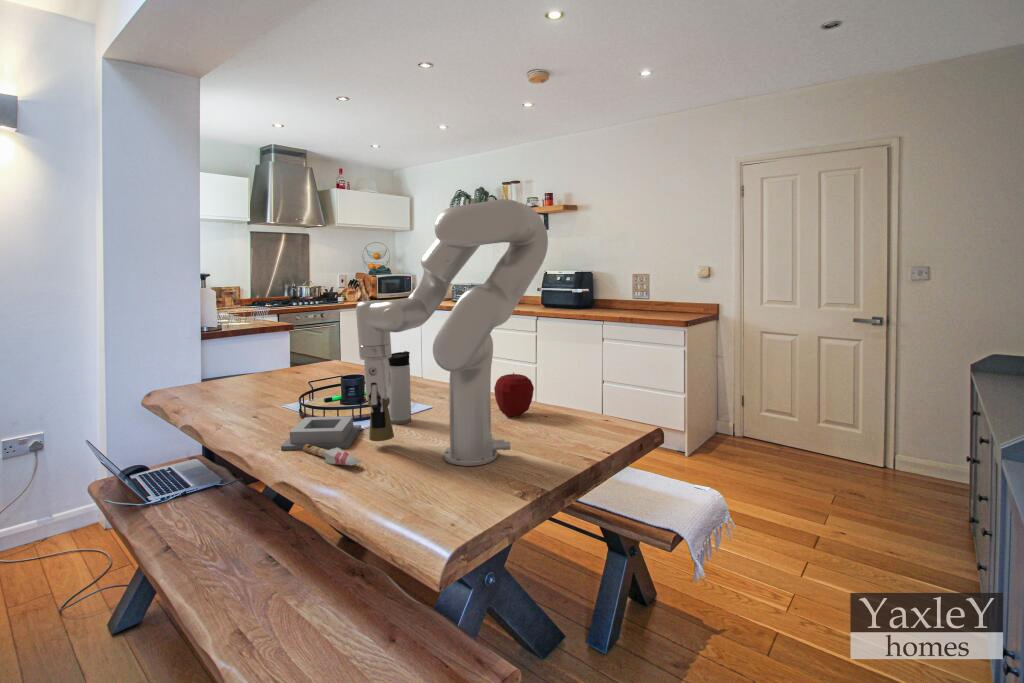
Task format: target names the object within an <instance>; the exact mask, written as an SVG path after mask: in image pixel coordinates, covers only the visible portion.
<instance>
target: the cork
mask: <svg viewBox="0 0 1024 683" xmlns="http://www.w3.org/2000/svg"><path fill="white" fill-rule="evenodd" d="M377 399H381V397H377ZM378 403H379V404H380V402H378ZM389 403H390V398H388V399H387V400H385V399H384V398H383V411H385V420H386V427H385V428H375V429H374V428H372V419H371V415H369V416H370V417H369V418H370V420H369V437H368V440H369V441H372V442H384V441H389V440H392V439H394V437H395V434H394V429H393V424H392V423H391V419H390V414H389ZM367 404H368V407H370V409H371V400H370V401H369V400H368V399H367Z"/></svg>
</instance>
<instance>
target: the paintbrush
mask: <svg viewBox="0 0 1024 683" xmlns="http://www.w3.org/2000/svg"><path fill="white" fill-rule="evenodd" d="M302 451H303V452H306V453H310V454H312V455H316V456H319V457H323V458H324V463H325V464H329V465H331V464H332V465H341V466H342V465H343V466H353V465H354V466H355V465H356V464H359V463H362V460H360V459H358V458H357V457H355V456H353V455H351V454H350V453H348V452H347V451H345V450H344V449H340V448H338V447H337V448H334V449H322V448H319V447H316V446H312V445H309V444H306V445H305V446H304V447H303V450H302Z"/></svg>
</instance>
